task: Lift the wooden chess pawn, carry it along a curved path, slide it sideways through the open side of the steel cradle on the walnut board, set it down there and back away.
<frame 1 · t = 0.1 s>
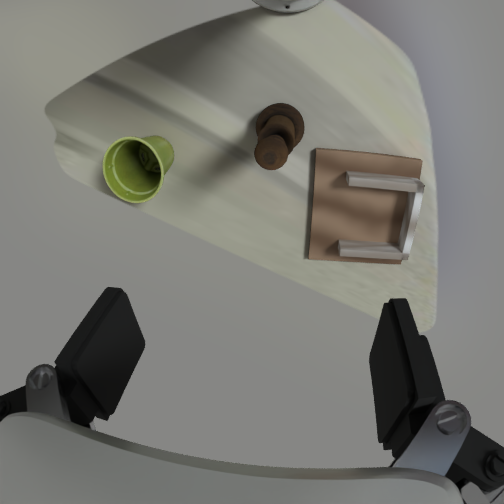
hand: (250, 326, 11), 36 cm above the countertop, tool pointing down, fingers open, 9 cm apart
wooden chess pawn: (280, 125, 41), on the countertop
plant pot: (157, 153, 46), on the countertop
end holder: (363, 209, 46), on the countertop
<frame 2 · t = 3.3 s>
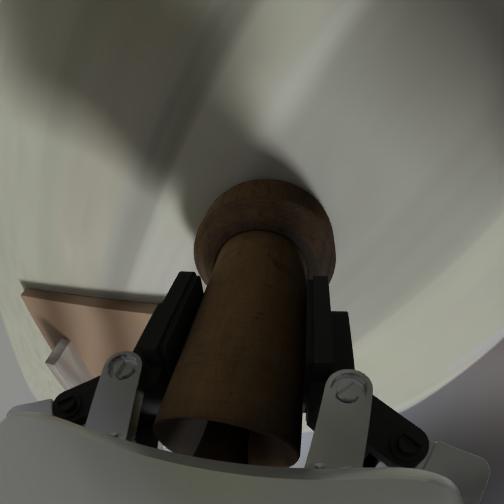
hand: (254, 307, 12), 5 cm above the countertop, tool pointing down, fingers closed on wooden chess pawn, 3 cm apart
wooden chess pawn: (268, 236, 16), on the countertop, touching gripper
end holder: (134, 368, 25), on the countertop
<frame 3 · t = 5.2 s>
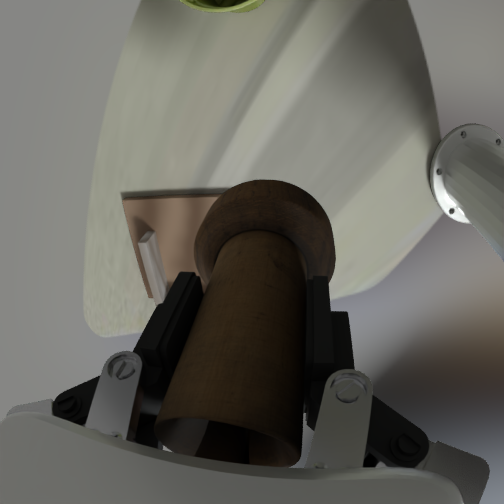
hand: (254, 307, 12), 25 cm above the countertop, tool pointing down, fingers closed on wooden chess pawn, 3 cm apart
wooden chess pawn: (267, 236, 16), point 20 cm above the countertop, touching gripper
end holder: (197, 251, 41), on the countertop
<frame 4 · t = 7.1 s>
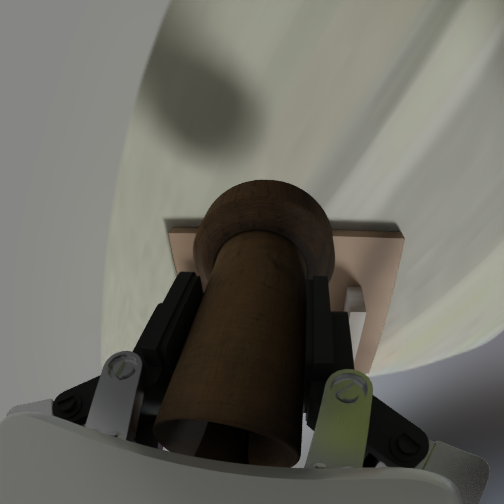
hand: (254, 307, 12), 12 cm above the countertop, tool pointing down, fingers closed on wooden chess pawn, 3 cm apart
wooden chess pawn: (267, 236, 16), point 7 cm above the countertop, touching gripper
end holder: (285, 309, 28), on the countertop
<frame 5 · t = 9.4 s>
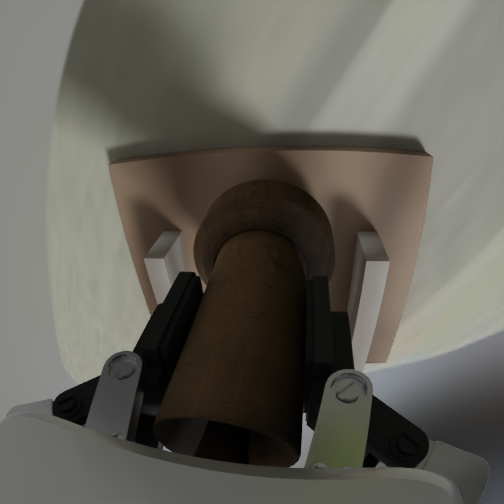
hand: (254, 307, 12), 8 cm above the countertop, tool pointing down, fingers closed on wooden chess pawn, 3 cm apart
wooden chess pawn: (267, 236, 16), point 2 cm above the countertop, touching gripper
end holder: (271, 272, 20), on the countertop
when the fingers open (7 cm above the countertop, at t = 11.3 s): wooden chess pawn stays where it is, resting on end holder.
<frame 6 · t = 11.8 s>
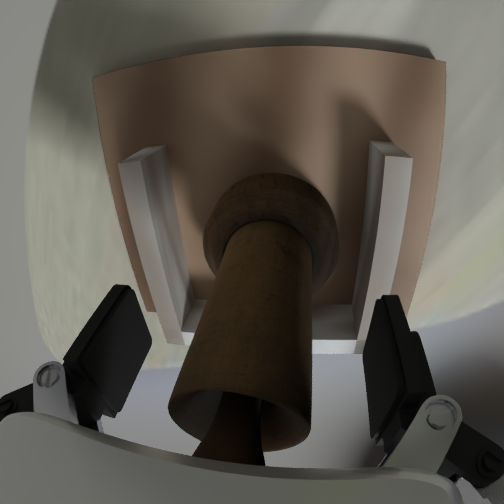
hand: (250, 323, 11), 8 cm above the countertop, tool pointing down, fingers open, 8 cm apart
wooden chess pawn: (273, 228, 17), point 1 cm above the countertop, touching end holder
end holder: (269, 198, 17), on the countertop
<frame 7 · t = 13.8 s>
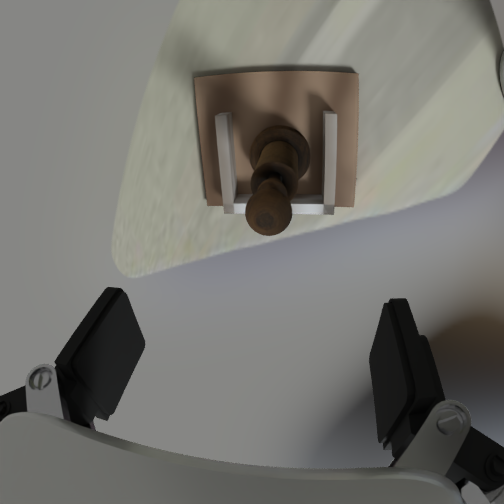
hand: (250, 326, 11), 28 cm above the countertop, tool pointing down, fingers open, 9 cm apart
wooden chess pawn: (280, 152, 34), point 1 cm above the countertop, touching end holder
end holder: (278, 138, 34), on the countertop
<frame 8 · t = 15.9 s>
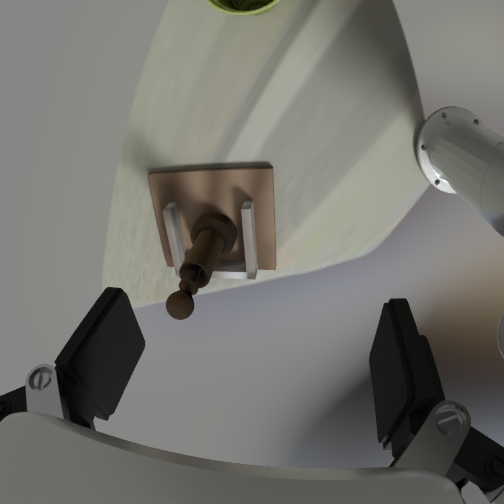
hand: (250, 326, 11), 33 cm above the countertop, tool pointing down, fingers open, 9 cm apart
wooden chess pawn: (215, 231, 47), point 1 cm above the countertop, touching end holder
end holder: (214, 220, 47), on the countertop
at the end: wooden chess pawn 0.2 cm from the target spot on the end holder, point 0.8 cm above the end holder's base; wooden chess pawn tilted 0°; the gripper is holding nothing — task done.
